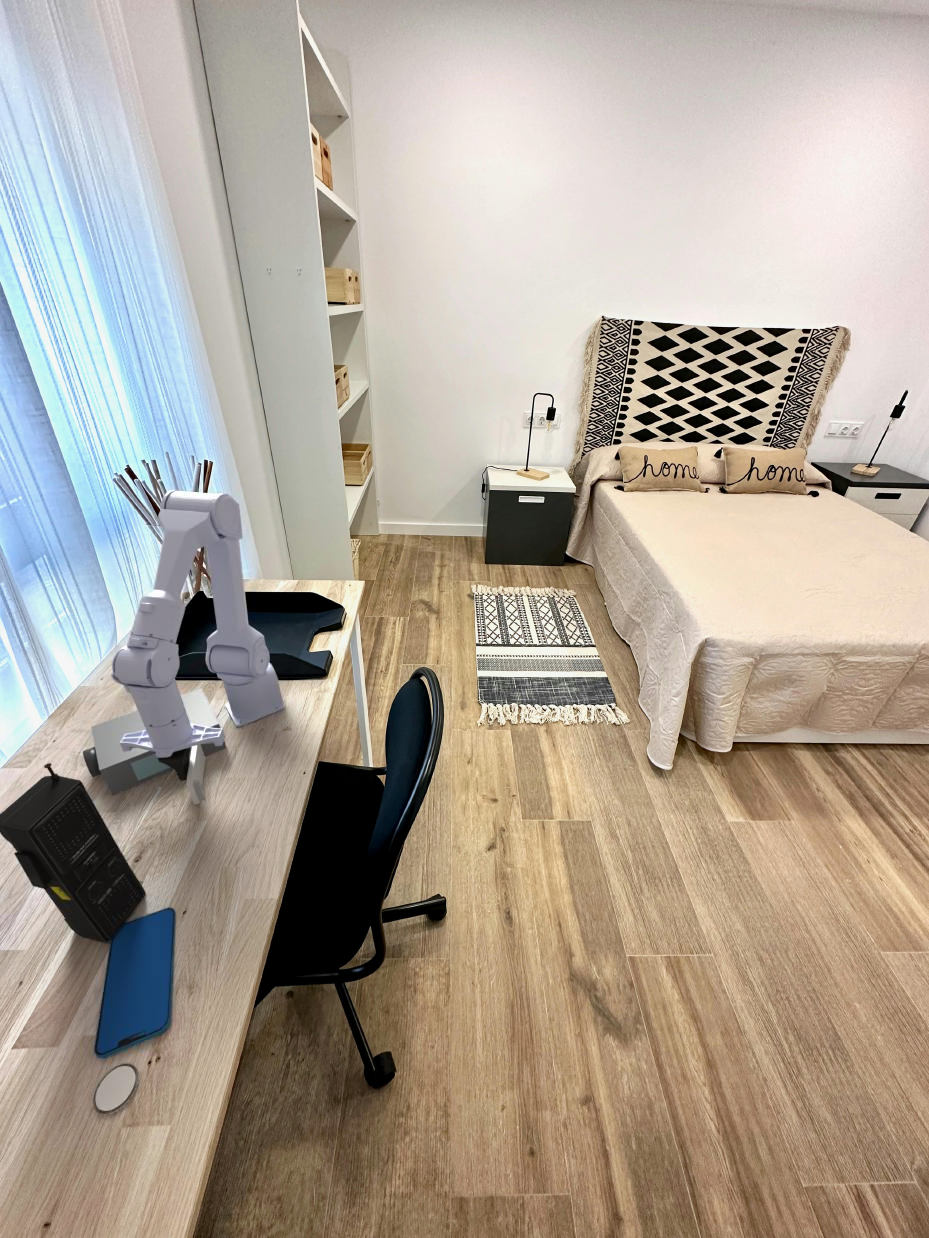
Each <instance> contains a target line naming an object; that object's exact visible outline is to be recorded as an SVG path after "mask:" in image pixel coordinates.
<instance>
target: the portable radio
mask: <svg viewBox="0 0 929 1238" xmlns="http://www.w3.org/2000/svg"><path fill="white" fill-rule="evenodd" d="M43 767H44V769H47V770H48V772H49V773H50V775H44V776H43V777H41V778H40V779H39V780H37V781H36V782H35V783H34V784H33V785H32V786H31V787H29V789H27V790H26V791H25V792H24V793H23V794H22V795H20V796H19V797H17V799H16V800H15V801H14V802H12V803H11V804H10V805H9V806H8V807H6V808H5V809H4V810H3V811H1V813H0V836H2V837H3V839H4V840H5V841H7V842H8V843H9V844H10V845H12V847H13V848H14V850H15V852H14V856H15V857H16V859H17V862H19V864H20V866H21V869H22V870H23V871H24V873H25V875H26V877H27V878H28V880H29V882H30V884H31V885H32V887H36V888H38V889H43V891H45V893H46V894H47V896H48V897H49V898H50V899H51V901H52V902H53V904H54V905H55V906H56V908H57V909H58V910H59V912H60V913H61V915H62V917H63V920H64V921H65V923H66V925H68V927H69V929H71V930H72V932H74V934H75V935H76V936H79V937H80V938H83V939H84V938H85V939H87V940H90V941H91V940H92V941H96V942H100V943H104V944H107V943H110V941H111V939H113V938H114V936H115V935H116V934H117V932H118V931H119V930H120V928H121V927H122V926H123V925H124V923H125V922H128V919H129V918H130V917H131V915H132V914H133V913H134V911H135V910H136V909H137V907H138V906H139V905H140V903H141V902H142V901H143V900H144V898H145V896H146V895H147V892H146V890H145V889H144V887H143V885H142V883H141V882H140V880H139V879H138V878H137V876H136V874H135V873H134V871H133V869H132V868H131V865H130V864H129V863H128V861H127V859H126V858H125V855H124V854H123V852H122V850H121V849H120V847H119V845H118V844H117V842H116V841H115V839H114V836H113V834H112V833H111V832H110V829H109V828H108V826H107V824H106V823H105V821H104V819H103V817H102V815H101V814H100V812H99V810H98V809H97V806H96V805H95V803H94V802H93V799H92V798H91V796H90V794H89V792H88V791H87V788H86V787H85V785H84V783H83V782H82V781H81V780H80V779H75V778H71V777H66V776H61V775H58V773H55V772H54V770H53V768H52V763H51V762H50V763H49V762H48V763H46V764H44V765H43Z"/></svg>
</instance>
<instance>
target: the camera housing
mask: <svg viewBox="0 0 929 1238" xmlns="http://www.w3.org/2000/svg"><path fill="white" fill-rule="evenodd" d="M180 695H181V698H182V701H183V703H184V706H185V709H186V712H187V715H188V718H189V721H190V723H192V724H196V725H201V726H206V727H211V728H221V726H220V722H219V721H218V718H217V717H216V714H215V712H214V711H213V708H212V706H211V704H210V702H209V700H208V698H207V696H206V694H205V692H204V690H203V688H202V687H200V688H198V689H195V690H191V691H190V692H187V693H184V694H180ZM90 728H91V732H92V733H91V734H92V738H93V742H94V743H93V744H94V746H91V747H90V748H87V749H85V750H83V751H82V754H83V755H82V756H83V758H84V762H85V766H86V768H87V769H88V773H89V775H90V776H91V777H92V778H96V777H98V776H101V775H102V778H103V780H104V782H105V784H106V786H107V788H108V790H109V792H110V794H111V796H115V795H117V794H120V793H122V792H124V791H127V790H129V789H132V788H134V787H136V786H139V785H141V784H144V783H146V782H148V781H152V780H153V779H156V778H159V777H160V776H163V775H165V774H169V773H171V772H172V771H175V770H174V769H172V768H171V767H169V766H168V765H166V764H164V763H161V762H159V761H158V758H157V756H156V752H154V751H149V750H145V749H140V748H132V750H131V751H125V752H123V750H122V747H121V745H120V741H121V740H122V738H123V736H124V735H125V734H128V733H135V732H139V731H143V730H146V729H145V726H144V724H143V722H142V719H141V717H140V714H139V712H138V709H137V710H135V711H132V712H130V713H126V714H123V715H121V716H118V717H115V718H112V719H108V720H106V721H104V722H100V723H98V724H95V725H92V726H90ZM201 747H202V750H203V753H204V756H205V758H206V757H208V756H212V755H213V754H216V753H218V752H220V751H222V750H225V749H227V745H226V742H225V740H224V742H223V744H222V746H215V744H214V743H209V744H201ZM191 750H192V747H191V748H190V753H189V758H190V756H191Z"/></svg>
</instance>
